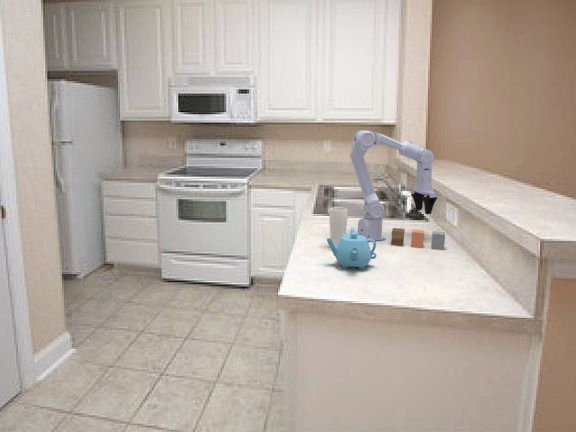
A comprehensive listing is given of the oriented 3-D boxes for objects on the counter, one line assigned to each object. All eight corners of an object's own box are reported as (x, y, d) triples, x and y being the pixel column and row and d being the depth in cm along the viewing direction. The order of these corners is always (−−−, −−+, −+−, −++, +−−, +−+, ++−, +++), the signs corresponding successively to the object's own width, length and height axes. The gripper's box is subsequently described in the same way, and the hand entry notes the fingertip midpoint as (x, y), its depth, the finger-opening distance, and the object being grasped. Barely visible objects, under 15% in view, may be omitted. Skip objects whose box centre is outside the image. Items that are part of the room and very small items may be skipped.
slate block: (443, 250, 165) (445, 234, 163) (431, 249, 166) (432, 233, 165) (443, 247, 169) (444, 232, 168) (431, 245, 170) (432, 231, 169)
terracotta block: (423, 248, 167) (424, 233, 166) (410, 247, 168) (412, 232, 167) (423, 245, 171) (424, 230, 170) (411, 244, 172) (412, 229, 171)
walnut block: (402, 246, 169) (403, 231, 168) (391, 245, 170) (391, 230, 169) (403, 243, 173) (404, 228, 172) (391, 242, 175) (392, 227, 173)
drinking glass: (325, 245, 169) (326, 207, 165) (340, 243, 171) (341, 206, 168) (333, 250, 163) (335, 211, 159) (349, 248, 165) (351, 209, 162)
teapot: (321, 263, 148) (322, 231, 146) (350, 256, 156) (352, 225, 154) (353, 276, 136) (354, 241, 134) (383, 268, 144) (385, 235, 142)
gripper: (442, 180, 169) (442, 214, 172) (424, 176, 183) (423, 207, 186) (426, 182, 168) (425, 216, 171) (408, 177, 182) (408, 209, 185)
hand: (423, 212), depth 178 cm, fingers open, 7 cm apart
